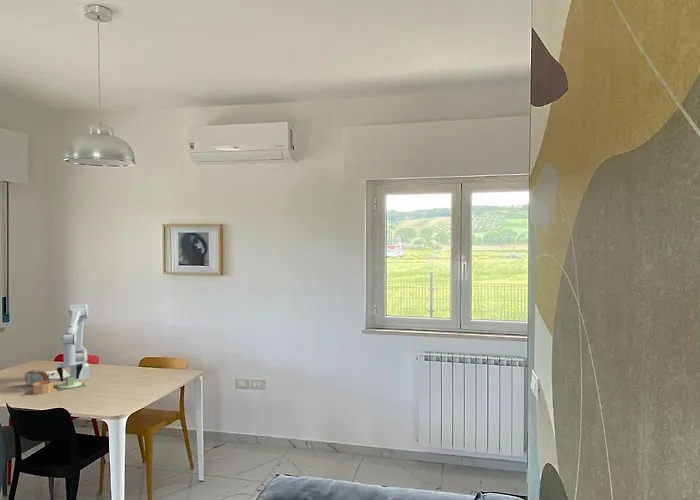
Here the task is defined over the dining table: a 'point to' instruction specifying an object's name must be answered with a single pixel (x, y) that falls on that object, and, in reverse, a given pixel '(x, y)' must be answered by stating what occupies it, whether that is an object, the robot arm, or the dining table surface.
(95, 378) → the dining table surface
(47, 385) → the bowl
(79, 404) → the dining table surface
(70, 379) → the lid
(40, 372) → the tin
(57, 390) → the mat
